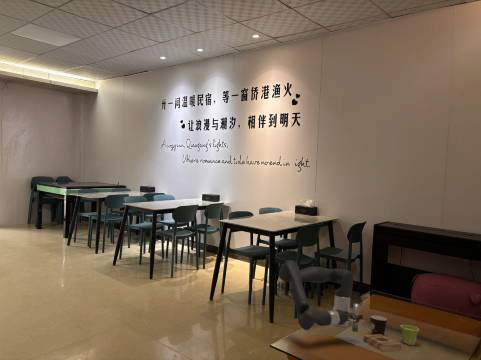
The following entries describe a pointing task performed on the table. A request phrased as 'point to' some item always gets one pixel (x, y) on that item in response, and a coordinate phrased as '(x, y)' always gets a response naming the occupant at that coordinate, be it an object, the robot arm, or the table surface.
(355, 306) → the steel pin
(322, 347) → the table surface
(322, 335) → the table surface
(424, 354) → the table surface
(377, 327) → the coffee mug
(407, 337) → the plant pot
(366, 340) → the socket block
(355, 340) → the mat
